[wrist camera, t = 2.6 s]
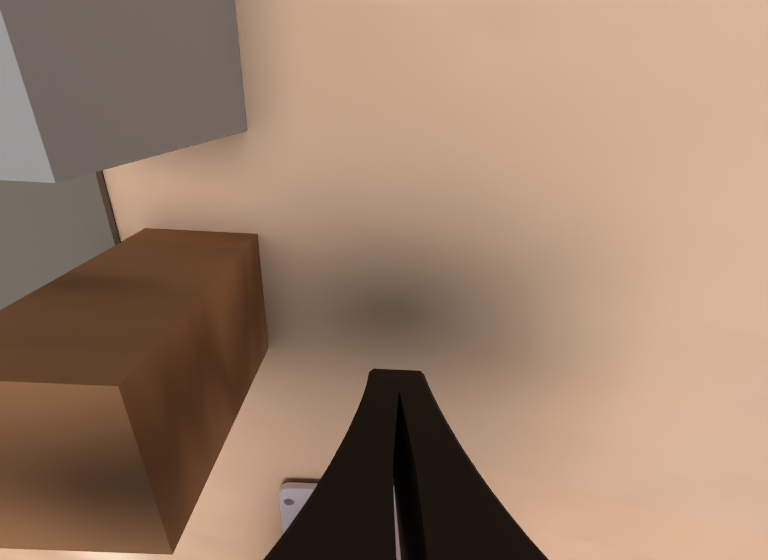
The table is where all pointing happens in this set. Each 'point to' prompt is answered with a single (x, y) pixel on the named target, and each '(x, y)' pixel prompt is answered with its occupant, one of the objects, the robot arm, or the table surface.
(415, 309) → the table surface
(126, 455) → the walnut block
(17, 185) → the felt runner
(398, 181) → the table surface
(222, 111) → the slate block
